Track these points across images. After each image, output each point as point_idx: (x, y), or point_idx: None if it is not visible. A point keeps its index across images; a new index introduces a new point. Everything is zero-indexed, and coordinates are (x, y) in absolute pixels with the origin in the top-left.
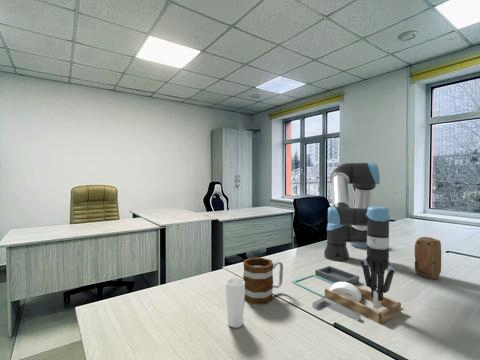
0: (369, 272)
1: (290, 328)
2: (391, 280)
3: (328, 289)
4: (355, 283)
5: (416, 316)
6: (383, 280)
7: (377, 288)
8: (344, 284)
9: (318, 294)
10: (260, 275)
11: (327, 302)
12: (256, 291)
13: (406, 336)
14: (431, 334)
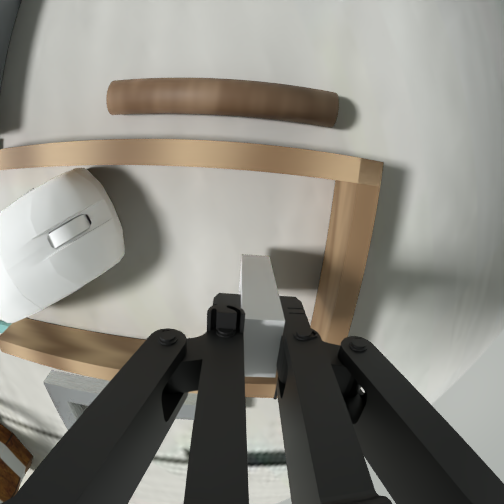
0: (114, 458)
1: (148, 500)
2: (448, 434)
3: (6, 342)
4: (10, 30)
5: (424, 145)
6: (346, 428)
7: (278, 400)
8: (7, 302)
9: (2, 332)
10: None
11: (82, 403)
12: (19, 485)
13: (406, 359)
14: (475, 271)
